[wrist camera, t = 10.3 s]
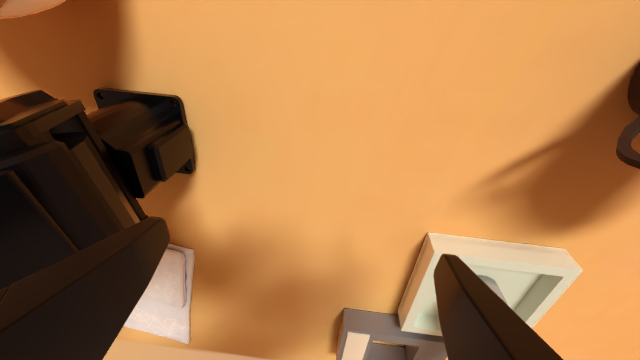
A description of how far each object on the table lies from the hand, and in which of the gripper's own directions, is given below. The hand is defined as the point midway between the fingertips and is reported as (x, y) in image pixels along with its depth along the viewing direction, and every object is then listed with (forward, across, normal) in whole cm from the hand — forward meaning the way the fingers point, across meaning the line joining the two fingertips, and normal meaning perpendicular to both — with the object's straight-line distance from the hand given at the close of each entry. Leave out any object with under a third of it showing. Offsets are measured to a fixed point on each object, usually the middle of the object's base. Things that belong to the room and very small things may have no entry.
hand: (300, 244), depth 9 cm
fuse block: (+13, -10, +27) cm, 32 cm away
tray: (+13, -16, +16) cm, 26 cm away
